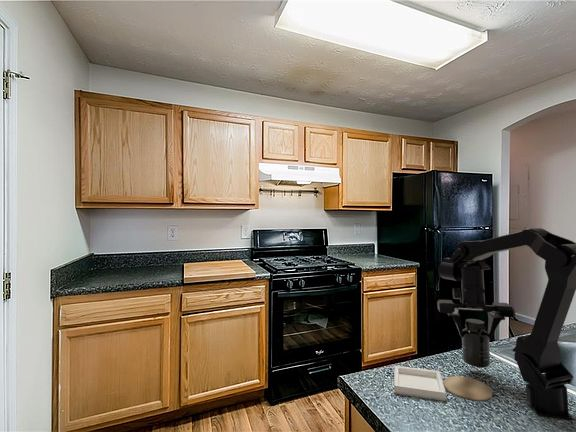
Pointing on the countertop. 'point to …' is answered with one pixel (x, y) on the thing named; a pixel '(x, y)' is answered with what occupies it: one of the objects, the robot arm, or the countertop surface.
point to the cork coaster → (467, 388)
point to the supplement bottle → (475, 344)
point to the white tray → (419, 383)
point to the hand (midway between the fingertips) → (475, 337)
